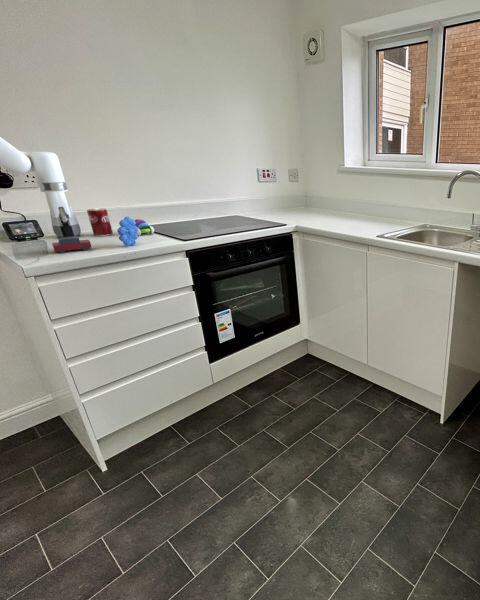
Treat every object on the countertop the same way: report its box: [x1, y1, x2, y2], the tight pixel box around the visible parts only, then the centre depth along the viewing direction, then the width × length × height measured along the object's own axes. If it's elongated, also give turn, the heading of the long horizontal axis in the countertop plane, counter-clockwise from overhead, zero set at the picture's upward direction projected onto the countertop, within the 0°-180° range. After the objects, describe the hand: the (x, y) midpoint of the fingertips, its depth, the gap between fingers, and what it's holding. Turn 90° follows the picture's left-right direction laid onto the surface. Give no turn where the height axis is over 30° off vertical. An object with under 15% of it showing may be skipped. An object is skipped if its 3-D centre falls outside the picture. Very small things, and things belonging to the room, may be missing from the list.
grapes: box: [116, 216, 139, 247], centre depth 148 cm, size 12×7×12 cm, turn 7°
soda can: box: [86, 208, 114, 237], centre depth 165 cm, size 7×7×12 cm
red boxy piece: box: [51, 236, 93, 254], centre depth 138 cm, size 11×5×6 cm
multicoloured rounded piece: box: [134, 218, 155, 237], centre depth 171 cm, size 8×10×7 cm
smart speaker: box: [49, 204, 82, 238], centre depth 159 cm, size 10×9×14 cm
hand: (68, 236), depth 137 cm, fingers closed
